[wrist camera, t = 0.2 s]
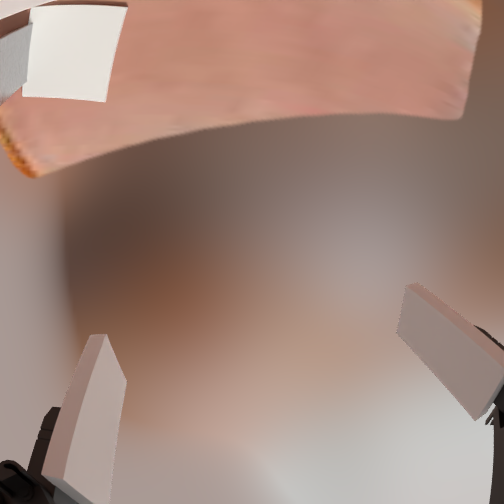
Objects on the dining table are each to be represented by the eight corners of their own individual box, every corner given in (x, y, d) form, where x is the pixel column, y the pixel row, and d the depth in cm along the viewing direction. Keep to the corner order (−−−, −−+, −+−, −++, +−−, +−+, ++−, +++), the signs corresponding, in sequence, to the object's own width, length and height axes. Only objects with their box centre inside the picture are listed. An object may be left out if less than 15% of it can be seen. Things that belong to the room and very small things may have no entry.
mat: (128, 7, 22) (127, 7, 22) (106, 100, 32) (105, 102, 32) (33, 6, 17) (31, 7, 17) (24, 94, 27) (22, 96, 27)
